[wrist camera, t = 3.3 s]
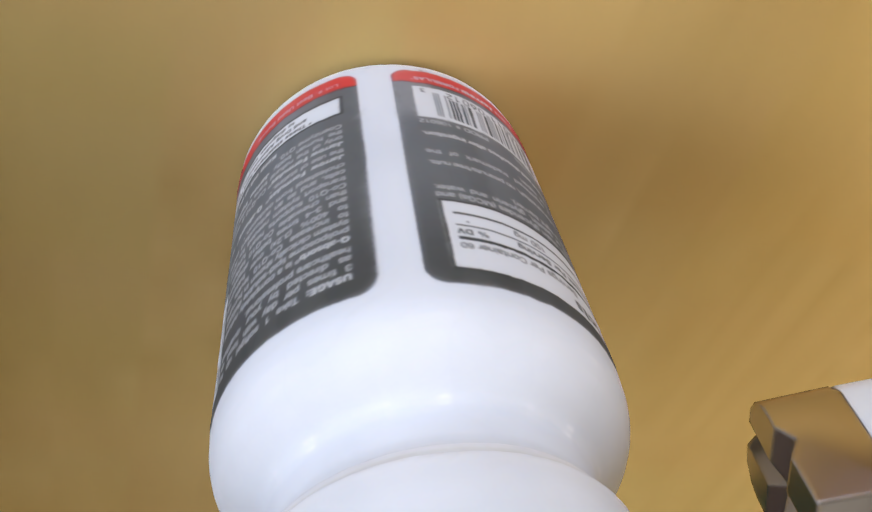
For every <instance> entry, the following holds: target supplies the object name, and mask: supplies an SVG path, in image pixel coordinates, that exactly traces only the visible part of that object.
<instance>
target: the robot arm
mask: <svg viewBox="0 0 872 512" xmlns="http://www.w3.org/2000/svg"><path fill="white" fill-rule="evenodd" d="M749 422H750V424H751V426H752V428H753V430H754V432H755V434H756V436H755V437H754V438H753V439H752V440H751V441H750V442H749V443H748V448H747V463H748V468H749V473H750V478H751V483H752V485H753V488H754V491H755V493H756V496H757V499H758V501H759V503H760V505H761V507H762V509H763V511H764V512H872V379H865V380H861V381H856V382H851V383H846V384H841V385H837V386H832V387H828V386H827V387H822V388H818V389H813V390H808V391H804V392H799V393H795V394H790V395H785V396H781V397H776V398H771V399H767V400H762V401H758V402H754V404H753V405H752V407H751V409H750V419H749Z"/></svg>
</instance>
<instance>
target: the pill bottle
mask: <svg viewBox="0 0 872 512" xmlns="http://www.w3.org/2000/svg"><path fill="white" fill-rule="evenodd" d="M629 448H630V418H629V412H628V406H627V402H626V398H625V394H624V391H623V388H622V385H621V382H620V379H619V376H618V373H617V370H616V367H615V364H614V362H613V360H612V357H611V355H610V352H609V350H608V348H607V346H606V343H605V341H604V339H603V337H602V334H601V331H600V328H599V326H598V324H597V322H596V320H595V318H594V315H593V313H592V311H591V308H590V306H589V303H588V301H587V298H586V296H585V294H584V292H583V289H582V287H581V284H580V282H579V279H578V277H577V274H576V272H575V270H574V267H573V265H572V262H571V260H570V258H569V255H568V253H567V250H566V248H565V246H564V243H563V241H562V239H561V236H560V234H559V232H558V229H557V227H556V225H555V222H554V220H553V217H552V215H551V212H550V210H549V207H548V205H547V202H546V200H545V197H544V195H543V192H542V190H541V187H540V185H539V183H538V181H537V178H536V176H535V174H534V171H533V169H532V167H531V165H530V162H529V159H528V157H527V154H526V152H525V150H524V147H523V146H522V144H521V142H520V140H519V138H518V136H517V134H516V133H515V131H514V130H513V128H512V126H511V125H510V123H509V122H508V121H507V119H506V118H505V117H504V116H503V114H502V113H501V112H500V111H499V110H498V109H497V108H496V106H495V105H494V104H493V103H492V102H490V101H489V100H488V99H487V98H486V97H484V96H483V95H482V94H480V93H479V92H478V91H476V90H475V89H473V88H472V87H470V86H469V85H467V84H465V83H463V82H462V81H460V80H458V79H456V78H453V77H451V76H449V75H446V74H443V73H440V72H437V71H434V70H430V69H426V68H420V67H414V66H406V65H370V66H364V67H358V68H353V69H349V70H345V71H341V72H338V73H336V74H333V75H330V76H327V77H325V78H323V79H320V80H318V81H316V82H314V83H313V84H311V85H309V86H307V87H305V88H304V89H302V90H301V91H299V92H298V93H296V94H295V95H293V96H292V97H291V98H289V99H288V100H287V101H286V102H285V103H283V104H282V105H281V106H280V107H279V108H278V109H277V110H276V111H275V112H274V113H273V114H272V115H271V117H270V118H269V119H268V120H267V121H266V123H265V124H264V125H263V127H262V128H261V129H260V131H259V132H258V134H257V136H256V138H255V139H254V141H253V143H252V145H251V147H250V149H249V151H248V154H247V156H246V159H245V162H244V165H243V169H242V172H241V176H240V181H239V186H238V191H237V205H236V214H235V222H234V231H233V241H232V249H231V257H230V266H229V274H228V281H227V290H226V299H225V309H224V318H223V327H222V335H221V344H220V353H219V360H218V370H217V378H216V386H215V394H214V402H213V409H212V418H211V424H210V445H209V471H210V478H211V484H212V489H213V494H214V498H215V501H216V504H217V506H218V509H219V511H220V512H630V511H629V510H628V509H627V507H626V506H625V505H624V503H623V502H622V501H621V500H620V499H619V498H618V497H617V496H616V493H617V491H618V489H619V486H620V484H621V481H622V478H623V475H624V472H625V469H626V464H627V459H628V454H629Z"/></svg>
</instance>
